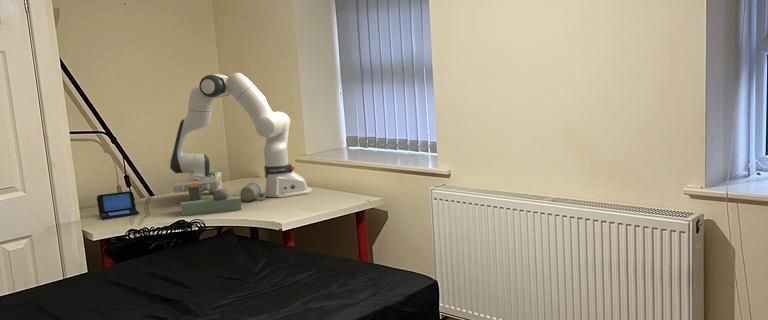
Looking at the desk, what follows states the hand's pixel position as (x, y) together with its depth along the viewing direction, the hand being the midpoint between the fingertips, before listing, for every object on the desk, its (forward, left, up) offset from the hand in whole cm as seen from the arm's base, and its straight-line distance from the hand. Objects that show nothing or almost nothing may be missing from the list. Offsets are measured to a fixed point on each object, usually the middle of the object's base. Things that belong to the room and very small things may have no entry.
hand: (195, 188), depth 325 cm
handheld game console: (+34, +4, -8) cm, 35 cm away
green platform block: (-7, +15, -8) cm, 18 cm away
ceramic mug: (-26, +2, -8) cm, 27 cm away
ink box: (-8, -26, -7) cm, 28 cm away
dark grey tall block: (0, +12, -8) cm, 14 cm away
